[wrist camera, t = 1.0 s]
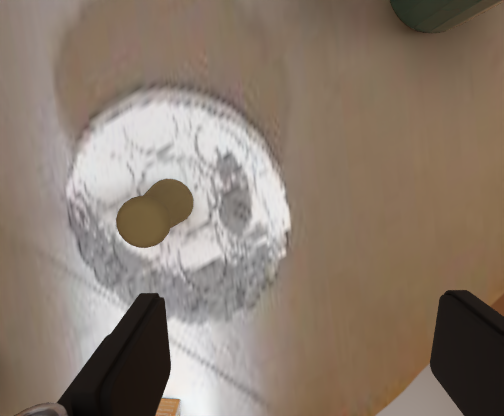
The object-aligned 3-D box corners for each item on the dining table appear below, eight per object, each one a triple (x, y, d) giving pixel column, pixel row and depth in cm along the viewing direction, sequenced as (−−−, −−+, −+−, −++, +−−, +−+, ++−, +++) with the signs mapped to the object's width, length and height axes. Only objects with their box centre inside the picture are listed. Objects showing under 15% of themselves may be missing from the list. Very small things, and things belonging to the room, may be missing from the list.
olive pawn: (151, 226, 39) (113, 259, 29) (143, 181, 38) (99, 198, 27) (196, 221, 39) (174, 253, 28) (189, 176, 38) (163, 192, 27)
